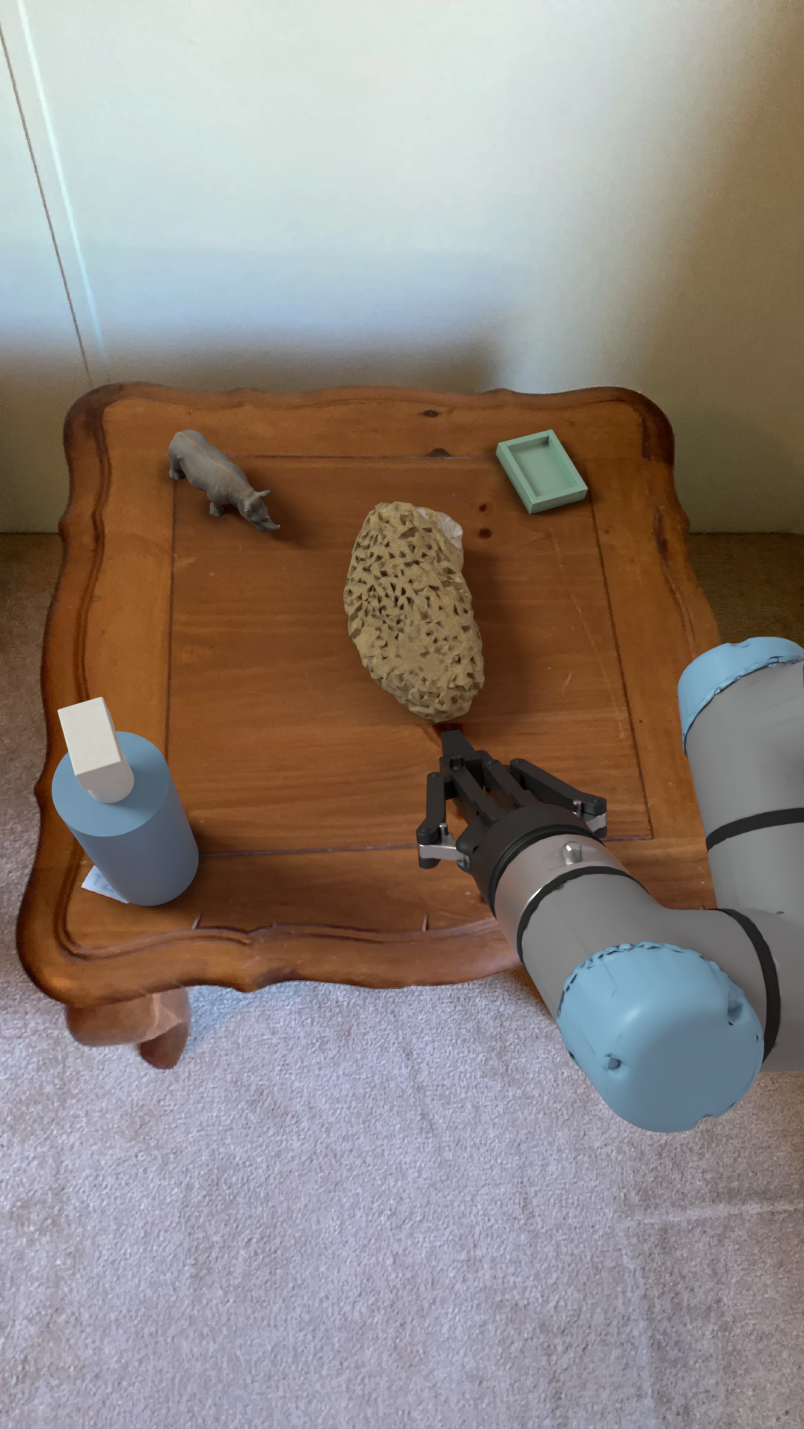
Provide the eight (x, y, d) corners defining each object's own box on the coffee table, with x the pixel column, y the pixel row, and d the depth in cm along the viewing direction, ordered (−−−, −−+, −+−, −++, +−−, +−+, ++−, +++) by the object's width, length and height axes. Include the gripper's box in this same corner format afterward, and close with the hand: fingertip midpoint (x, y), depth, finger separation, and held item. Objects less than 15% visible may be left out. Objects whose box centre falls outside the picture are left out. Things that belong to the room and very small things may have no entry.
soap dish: (583, 500, 90) (588, 488, 89) (529, 516, 89) (533, 503, 87) (548, 441, 93) (552, 428, 92) (494, 455, 92) (498, 442, 90)
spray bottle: (210, 887, 70) (170, 781, 51) (118, 920, 68) (42, 823, 49) (184, 807, 73) (137, 677, 54) (95, 836, 71) (15, 713, 52)
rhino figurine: (262, 562, 84) (259, 520, 78) (161, 477, 87) (150, 431, 82) (294, 537, 85) (293, 494, 80) (193, 454, 89) (185, 408, 83)
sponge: (350, 542, 87) (312, 703, 74) (372, 478, 81) (335, 641, 69) (480, 583, 89) (465, 746, 77) (511, 524, 83) (500, 689, 71)
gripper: (663, 810, 52) (526, 691, 74) (438, 849, 49) (366, 714, 71) (662, 926, 54) (530, 777, 76) (447, 967, 52) (375, 802, 74)
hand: (451, 746), depth 74 cm, fingers closed
